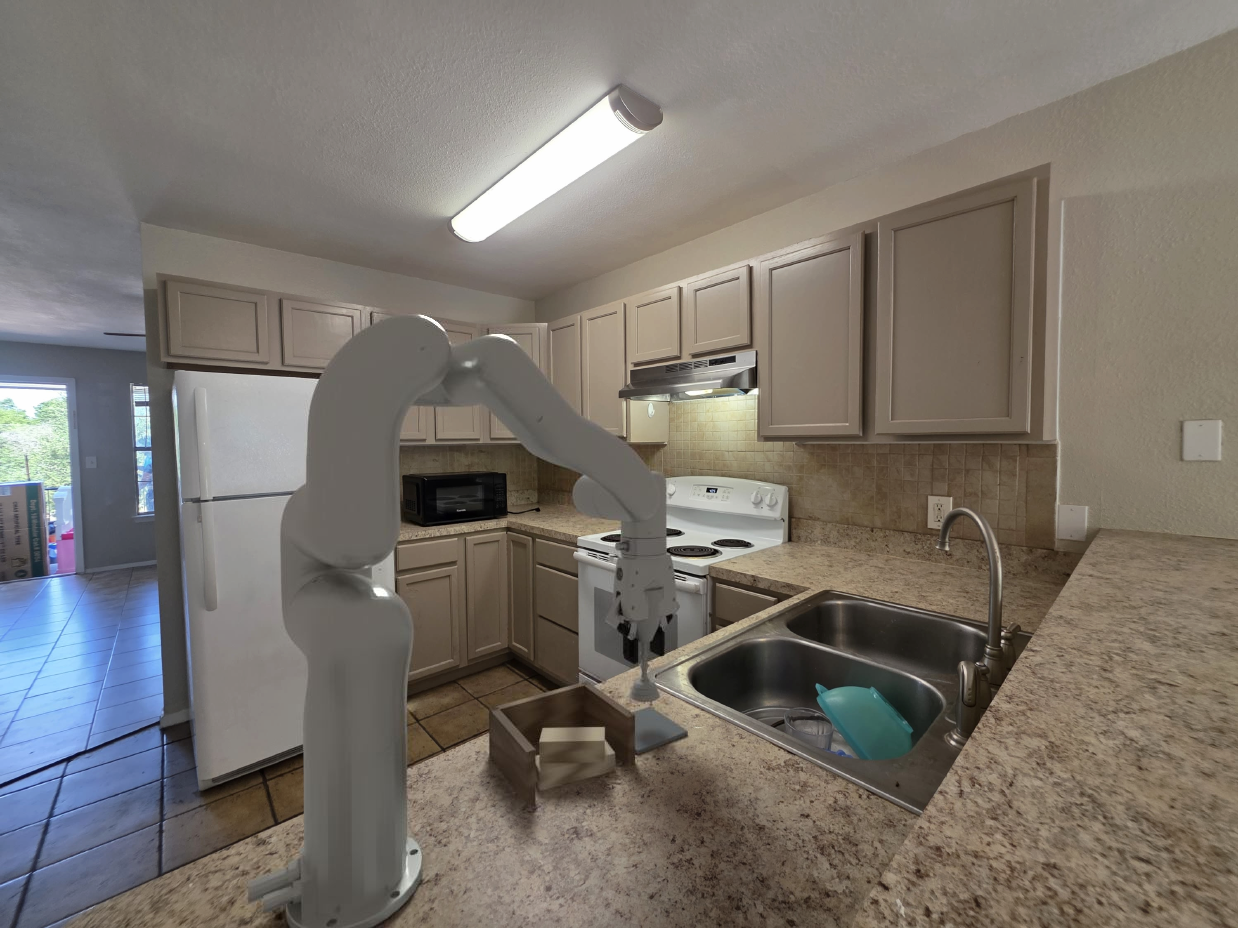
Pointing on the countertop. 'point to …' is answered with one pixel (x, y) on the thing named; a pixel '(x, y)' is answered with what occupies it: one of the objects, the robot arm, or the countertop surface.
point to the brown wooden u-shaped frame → (554, 709)
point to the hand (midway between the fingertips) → (644, 656)
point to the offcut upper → (572, 745)
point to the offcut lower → (572, 770)
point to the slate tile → (654, 729)
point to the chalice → (645, 632)
